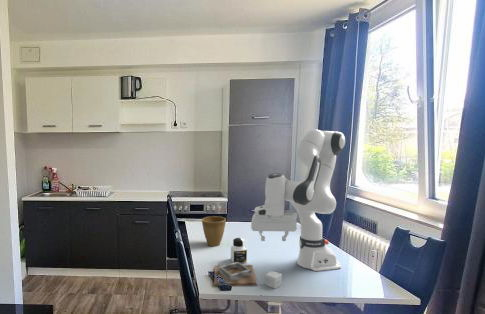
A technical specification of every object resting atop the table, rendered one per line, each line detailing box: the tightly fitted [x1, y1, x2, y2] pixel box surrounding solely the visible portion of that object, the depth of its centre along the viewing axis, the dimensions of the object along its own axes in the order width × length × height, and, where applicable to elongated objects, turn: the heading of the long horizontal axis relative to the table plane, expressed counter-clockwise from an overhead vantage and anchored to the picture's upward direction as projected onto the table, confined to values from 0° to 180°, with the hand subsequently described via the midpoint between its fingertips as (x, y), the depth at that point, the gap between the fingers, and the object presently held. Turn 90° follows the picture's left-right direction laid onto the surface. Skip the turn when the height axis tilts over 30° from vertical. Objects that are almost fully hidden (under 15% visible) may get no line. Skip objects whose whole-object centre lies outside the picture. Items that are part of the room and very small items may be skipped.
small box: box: [264, 270, 283, 289], centre depth 130 cm, size 6×6×5 cm
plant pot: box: [201, 215, 227, 247], centre depth 181 cm, size 15×15×16 cm
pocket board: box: [213, 262, 258, 287], centre depth 138 cm, size 19×19×4 cm
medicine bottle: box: [230, 237, 248, 264], centre depth 156 cm, size 7×7×12 cm
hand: (273, 240), depth 130 cm, fingers open, 8 cm apart
